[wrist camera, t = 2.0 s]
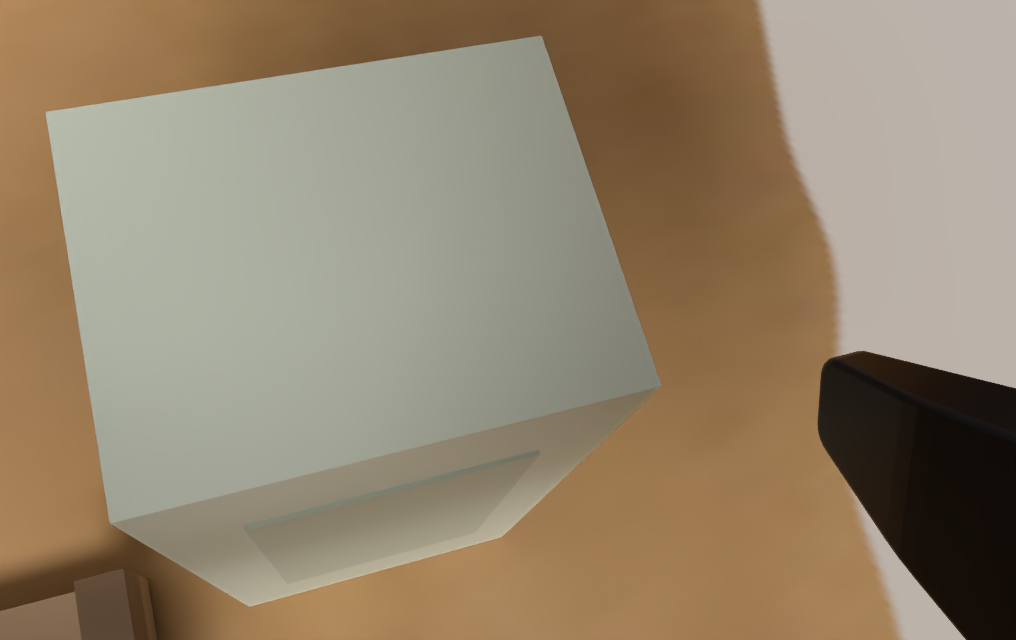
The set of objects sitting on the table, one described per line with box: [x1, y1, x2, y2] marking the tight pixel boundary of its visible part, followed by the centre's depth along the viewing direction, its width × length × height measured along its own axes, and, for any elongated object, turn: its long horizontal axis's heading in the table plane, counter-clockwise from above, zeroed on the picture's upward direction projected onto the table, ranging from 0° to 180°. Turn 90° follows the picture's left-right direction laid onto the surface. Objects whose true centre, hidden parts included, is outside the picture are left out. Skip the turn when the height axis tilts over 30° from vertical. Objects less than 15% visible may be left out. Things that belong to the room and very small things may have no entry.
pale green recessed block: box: [46, 35, 662, 607], centre depth 14 cm, size 4×5×11 cm
